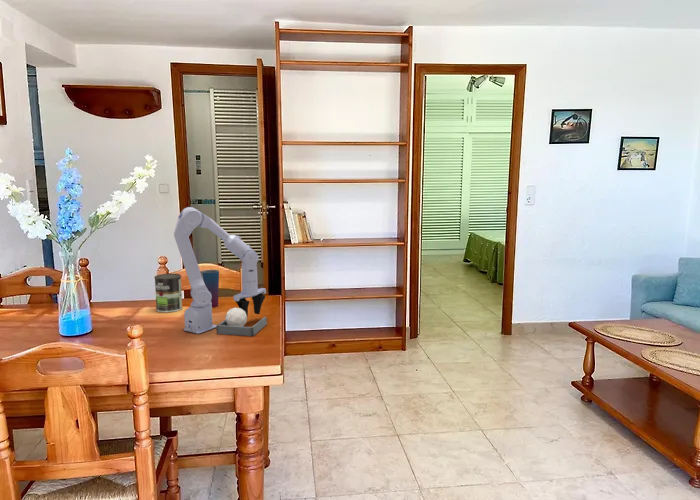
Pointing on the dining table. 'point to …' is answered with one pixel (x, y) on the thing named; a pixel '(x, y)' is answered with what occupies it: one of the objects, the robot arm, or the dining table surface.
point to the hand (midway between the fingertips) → (250, 315)
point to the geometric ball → (236, 317)
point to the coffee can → (168, 292)
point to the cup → (212, 284)
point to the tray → (241, 328)
